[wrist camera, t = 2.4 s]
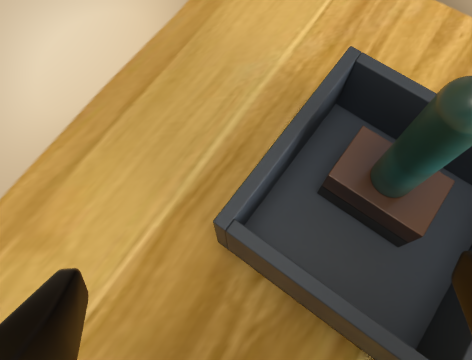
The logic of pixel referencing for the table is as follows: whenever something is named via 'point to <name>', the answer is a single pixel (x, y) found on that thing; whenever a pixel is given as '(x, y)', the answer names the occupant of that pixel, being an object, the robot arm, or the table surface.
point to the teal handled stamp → (404, 168)
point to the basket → (355, 224)
